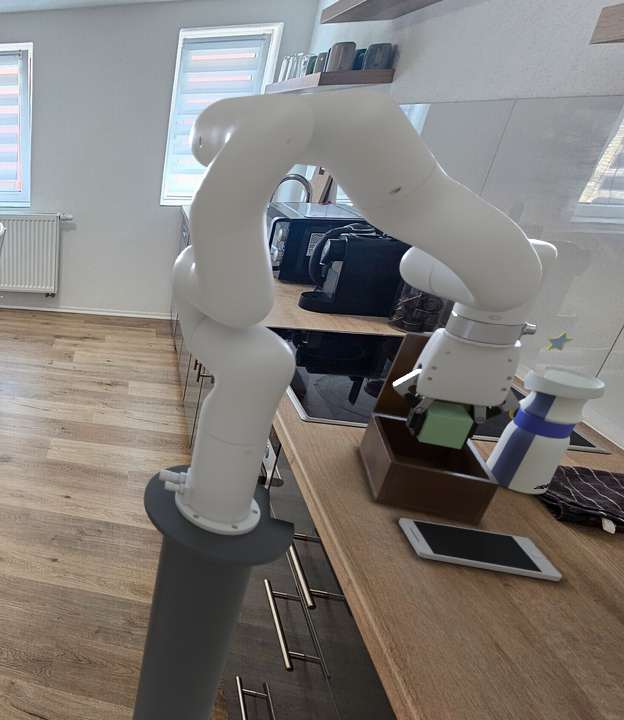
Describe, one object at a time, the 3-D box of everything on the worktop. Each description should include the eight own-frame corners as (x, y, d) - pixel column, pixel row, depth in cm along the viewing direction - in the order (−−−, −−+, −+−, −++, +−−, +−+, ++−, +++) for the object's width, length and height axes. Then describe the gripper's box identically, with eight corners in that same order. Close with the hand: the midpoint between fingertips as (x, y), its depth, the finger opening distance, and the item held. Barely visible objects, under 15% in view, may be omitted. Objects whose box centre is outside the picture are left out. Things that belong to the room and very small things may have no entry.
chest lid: (513, 346, 73) (503, 330, 77) (407, 334, 78) (402, 319, 82) (464, 427, 83) (457, 410, 86) (372, 412, 88) (369, 396, 91)
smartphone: (560, 582, 65) (564, 577, 64) (419, 557, 69) (421, 552, 68) (525, 542, 71) (528, 537, 70) (397, 521, 75) (399, 516, 75)
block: (460, 449, 75) (474, 421, 72) (419, 441, 77) (430, 414, 74) (450, 432, 79) (462, 405, 76) (411, 425, 81) (421, 398, 79)
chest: (478, 525, 74) (499, 484, 71) (375, 502, 79) (391, 462, 76) (445, 465, 86) (463, 428, 83) (358, 448, 92) (371, 412, 88)
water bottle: (465, 467, 86) (528, 335, 75) (502, 459, 87) (570, 328, 77) (521, 499, 79) (600, 357, 68) (561, 489, 80) (645, 349, 69)
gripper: (552, 327, 69) (497, 435, 77) (401, 312, 76) (365, 412, 84) (580, 347, 63) (518, 463, 71) (413, 329, 70) (373, 435, 78)
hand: (435, 434), depth 77 cm, fingers closed on block, 5 cm apart
